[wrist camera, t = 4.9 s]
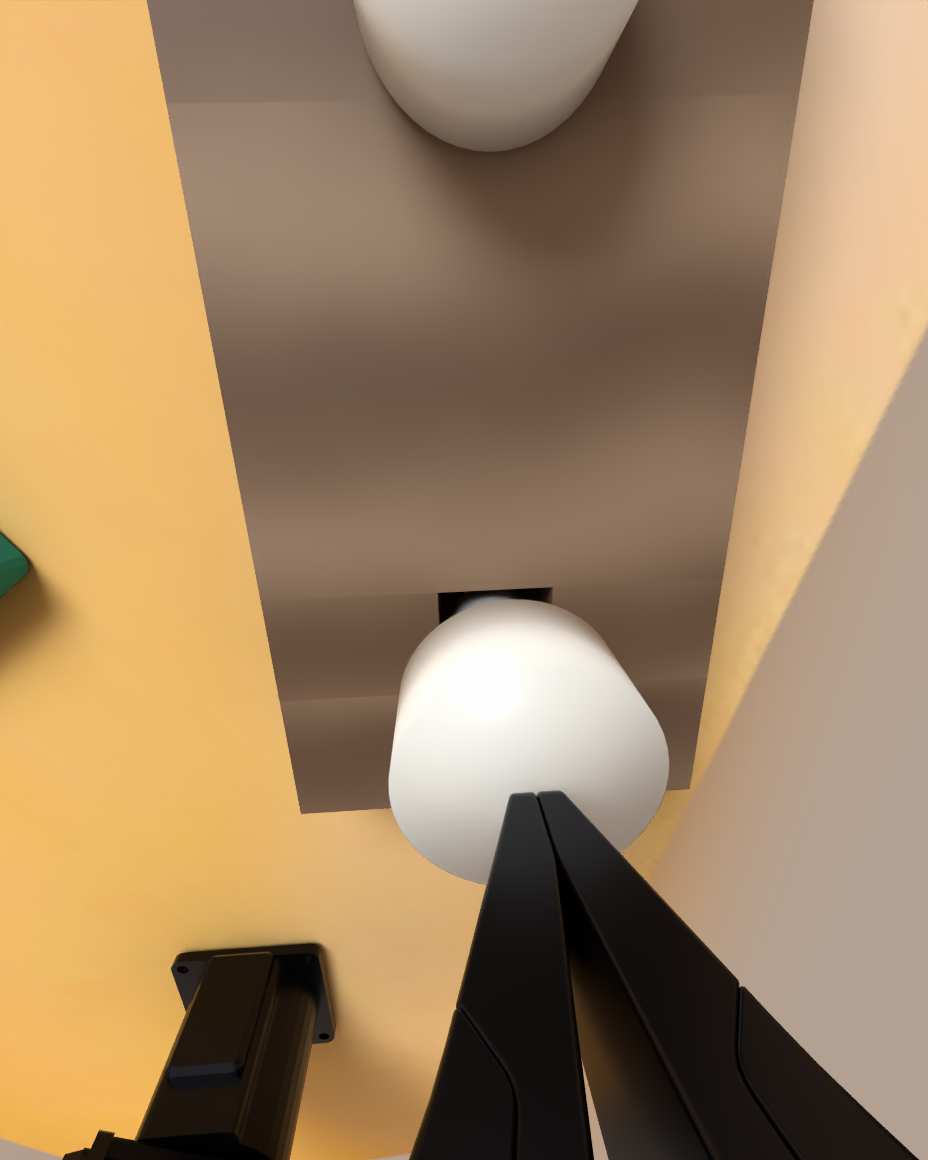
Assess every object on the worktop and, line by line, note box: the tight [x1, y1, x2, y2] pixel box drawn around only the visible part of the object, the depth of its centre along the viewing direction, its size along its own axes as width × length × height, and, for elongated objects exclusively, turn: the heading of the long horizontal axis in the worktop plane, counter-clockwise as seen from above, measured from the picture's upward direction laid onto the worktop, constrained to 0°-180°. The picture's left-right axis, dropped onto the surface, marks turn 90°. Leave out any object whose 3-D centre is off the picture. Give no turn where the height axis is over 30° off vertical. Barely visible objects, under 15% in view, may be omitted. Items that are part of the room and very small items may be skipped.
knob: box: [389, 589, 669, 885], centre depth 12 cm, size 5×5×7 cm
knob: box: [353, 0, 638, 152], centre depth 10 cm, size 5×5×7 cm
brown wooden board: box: [147, 0, 813, 814], centre depth 13 cm, size 24×12×4 cm, turn 2°
